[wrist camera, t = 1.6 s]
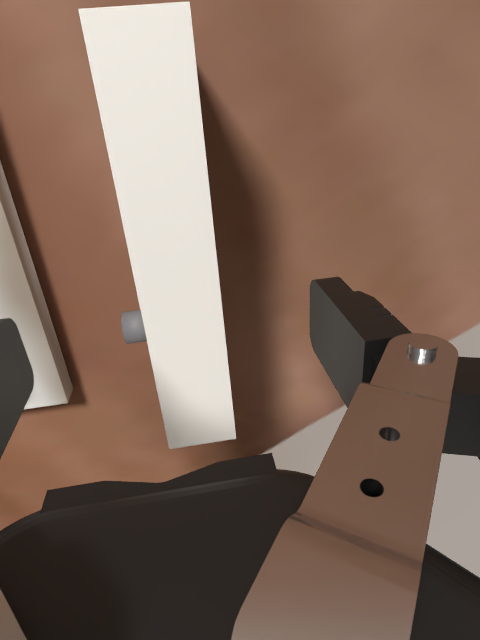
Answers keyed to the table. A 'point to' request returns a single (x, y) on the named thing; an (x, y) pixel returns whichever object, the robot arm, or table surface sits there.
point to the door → (164, 208)
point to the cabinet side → (29, 309)
